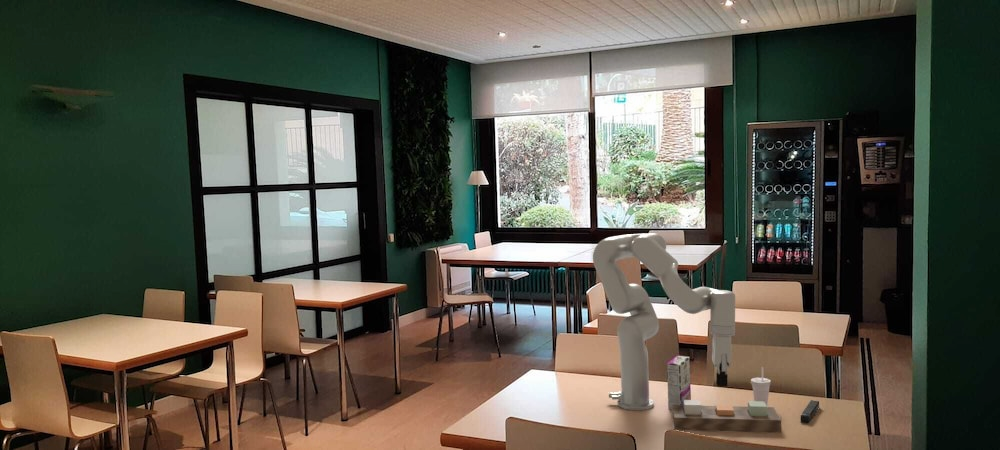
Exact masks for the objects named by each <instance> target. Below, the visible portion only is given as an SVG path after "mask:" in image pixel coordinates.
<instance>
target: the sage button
mask: <svg viewBox="0 0 1000 450" xmlns="http://www.w3.org/2000/svg"><path fill="white" fill-rule="evenodd" d="M747 407H748V414H749V416H767V407H768V405H767V406H766V404H765V402H763V401H754V400H748V401H747Z"/></svg>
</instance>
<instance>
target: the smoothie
mask: <svg viewBox="0 0 1000 450" xmlns="http://www.w3.org/2000/svg"><path fill="white" fill-rule="evenodd" d="M771 381H772V380H771V379H769V378H766V377H764V367H761V377H752V378H751V379H750V384H751V386H752V387H751V388H752V393H753V401H763V402H765V404H766V406H767V407H768V401H769V395H770V386H771V384H772V382H771Z"/></svg>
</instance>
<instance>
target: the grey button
mask: <svg viewBox="0 0 1000 450" xmlns="http://www.w3.org/2000/svg"><path fill="white" fill-rule="evenodd" d="M701 406H702V404H701V401H700V399H691V400H684V414H693V415H701Z"/></svg>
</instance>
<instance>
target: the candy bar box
mask: <svg viewBox="0 0 1000 450" xmlns="http://www.w3.org/2000/svg"><path fill="white" fill-rule="evenodd" d="M690 360H691V359H690V356H685V355H675V356H674V357H673V358H672V359H671V360H670V361H668V362H667V363H666V372H667V373H666V375H667V379H666V380H667V404H668V406H667V407H668V408H667V409H668V410H669V411H672V405H684V400H692V396H691V395H692V394H691V393H692V392H691V366H690V365H691V363H690V362H691V361H690Z"/></svg>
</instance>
